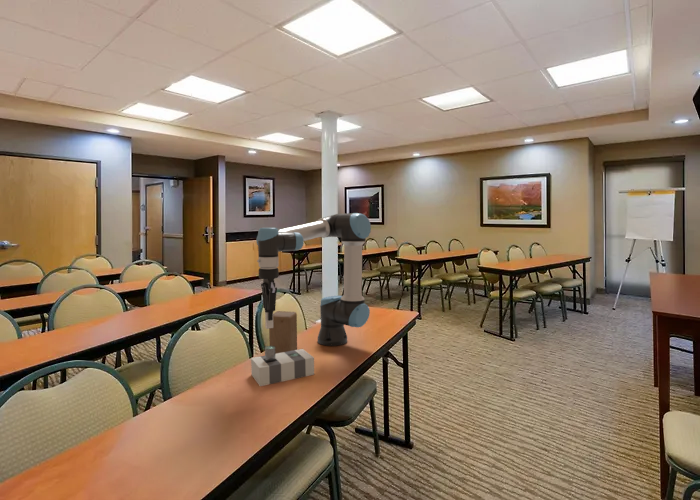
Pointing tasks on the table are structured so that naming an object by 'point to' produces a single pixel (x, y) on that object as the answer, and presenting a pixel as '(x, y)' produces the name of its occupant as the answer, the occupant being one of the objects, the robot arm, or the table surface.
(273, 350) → the peg
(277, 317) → the wooden block
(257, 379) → the socket board
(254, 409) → the table surface
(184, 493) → the table surface
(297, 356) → the peg
